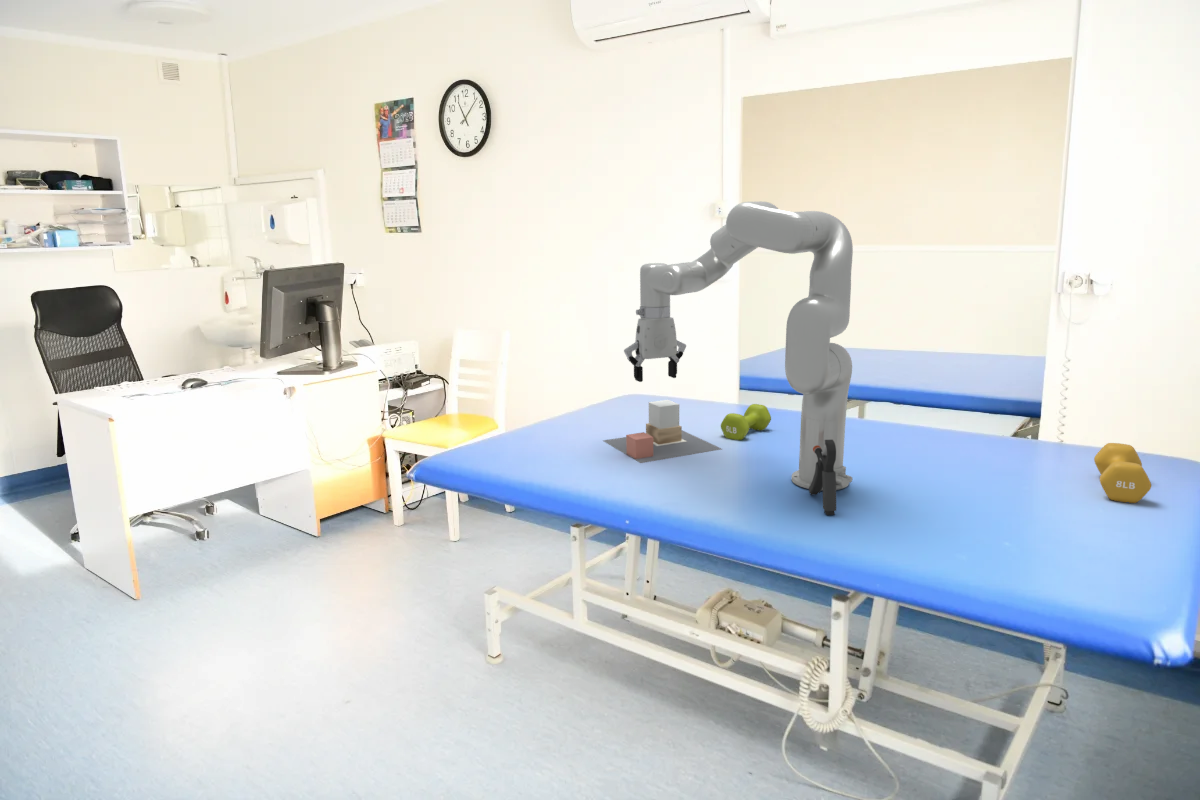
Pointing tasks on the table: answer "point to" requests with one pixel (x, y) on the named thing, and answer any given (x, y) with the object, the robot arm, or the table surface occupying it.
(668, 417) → the grey cube
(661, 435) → the oak base
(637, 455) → the red cube
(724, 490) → the table surface
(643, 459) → the grey mat
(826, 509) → the hand grip strengthener
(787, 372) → the robot arm
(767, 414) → the dumbbell
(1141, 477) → the dumbbell
